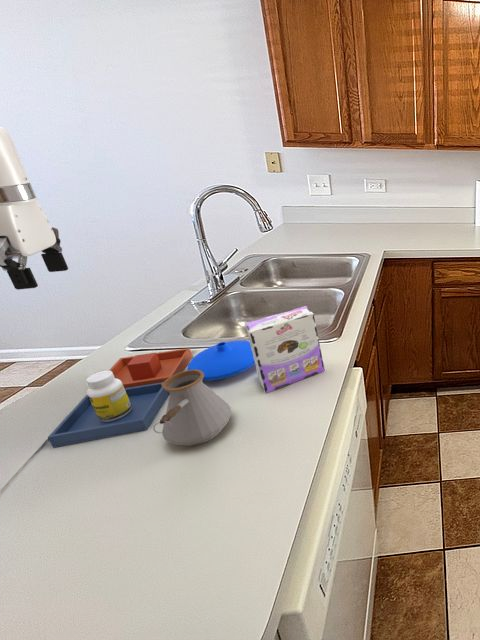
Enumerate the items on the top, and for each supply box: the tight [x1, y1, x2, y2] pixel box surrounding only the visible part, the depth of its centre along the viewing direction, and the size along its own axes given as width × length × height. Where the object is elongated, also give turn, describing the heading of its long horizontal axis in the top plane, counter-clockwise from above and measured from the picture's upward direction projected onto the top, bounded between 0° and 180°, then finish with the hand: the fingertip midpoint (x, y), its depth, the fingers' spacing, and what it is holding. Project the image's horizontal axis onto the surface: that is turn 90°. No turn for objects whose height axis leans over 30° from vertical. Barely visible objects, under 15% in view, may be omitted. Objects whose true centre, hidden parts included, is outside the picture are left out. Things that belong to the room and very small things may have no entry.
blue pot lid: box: [187, 340, 255, 381], centre depth 99 cm, size 16×16×7 cm
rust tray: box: [109, 347, 193, 389], centre depth 97 cm, size 15×13×3 cm
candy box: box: [244, 305, 325, 394], centre depth 94 cm, size 14×6×16 cm, turn 130°
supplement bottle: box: [85, 369, 132, 422], centre depth 82 cm, size 5×5×10 cm
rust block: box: [127, 352, 162, 381], centre depth 96 cm, size 4×4×4 cm
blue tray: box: [47, 382, 170, 449], centre depth 84 cm, size 15×13×3 cm
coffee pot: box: [153, 369, 232, 447], centre depth 73 cm, size 21×12×15 cm, turn 25°
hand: (43, 279), depth 81 cm, fingers open, 9 cm apart
